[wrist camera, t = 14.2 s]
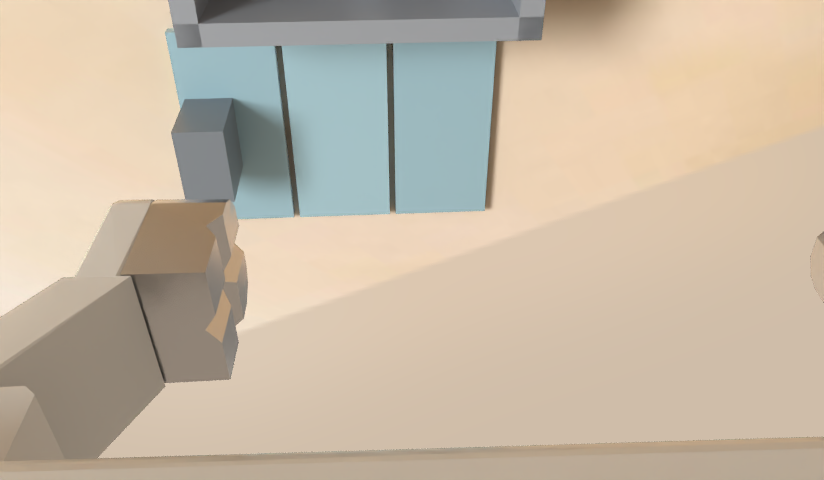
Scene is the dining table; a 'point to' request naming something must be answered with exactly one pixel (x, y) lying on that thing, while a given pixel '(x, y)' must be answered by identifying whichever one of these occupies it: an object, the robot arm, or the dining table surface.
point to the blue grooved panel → (335, 127)
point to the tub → (352, 21)
